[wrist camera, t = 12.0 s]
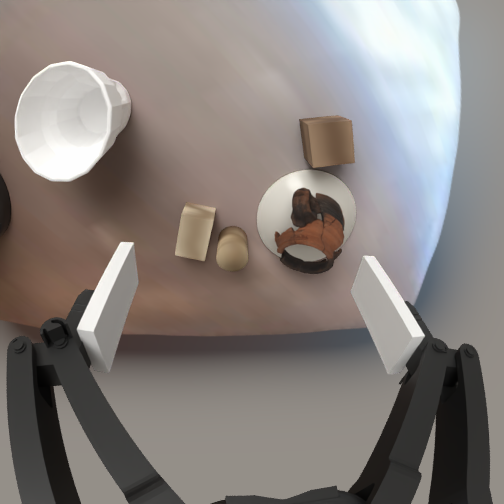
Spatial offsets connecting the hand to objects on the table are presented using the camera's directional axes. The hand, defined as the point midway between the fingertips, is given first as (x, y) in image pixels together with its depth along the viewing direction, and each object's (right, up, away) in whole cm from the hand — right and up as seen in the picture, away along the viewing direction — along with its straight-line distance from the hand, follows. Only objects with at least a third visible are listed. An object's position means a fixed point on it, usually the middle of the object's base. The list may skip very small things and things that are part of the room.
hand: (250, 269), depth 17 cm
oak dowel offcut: (-3, +3, +26) cm, 26 cm away
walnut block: (+9, +15, +18) cm, 26 cm away
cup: (-19, +19, +15) cm, 31 cm away
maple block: (-7, +5, +24) cm, 26 cm away
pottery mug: (+7, +6, +24) cm, 26 cm away
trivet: (+8, +6, +24) cm, 26 cm away
